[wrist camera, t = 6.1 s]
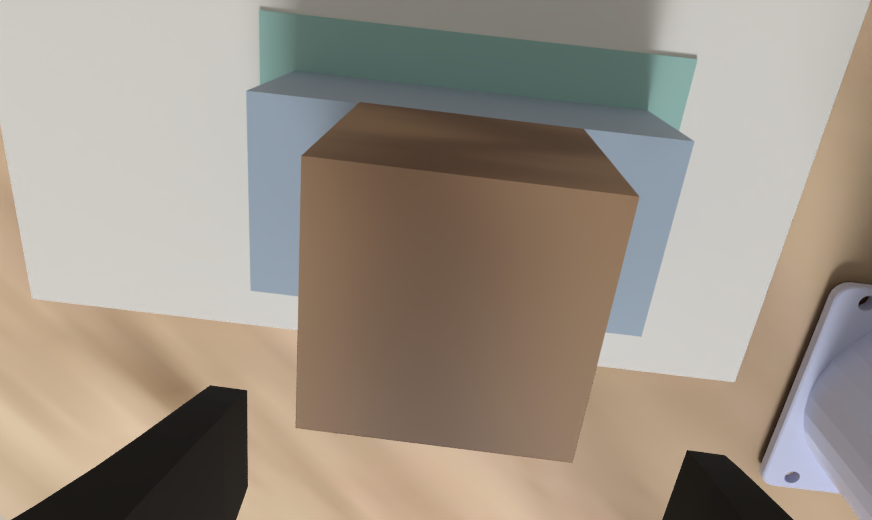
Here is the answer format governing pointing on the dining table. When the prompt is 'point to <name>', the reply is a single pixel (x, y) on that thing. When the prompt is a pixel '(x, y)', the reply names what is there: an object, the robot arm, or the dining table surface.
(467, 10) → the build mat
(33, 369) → the dining table surface
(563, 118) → the base block
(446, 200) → the walnut cube
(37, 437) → the dining table surface
